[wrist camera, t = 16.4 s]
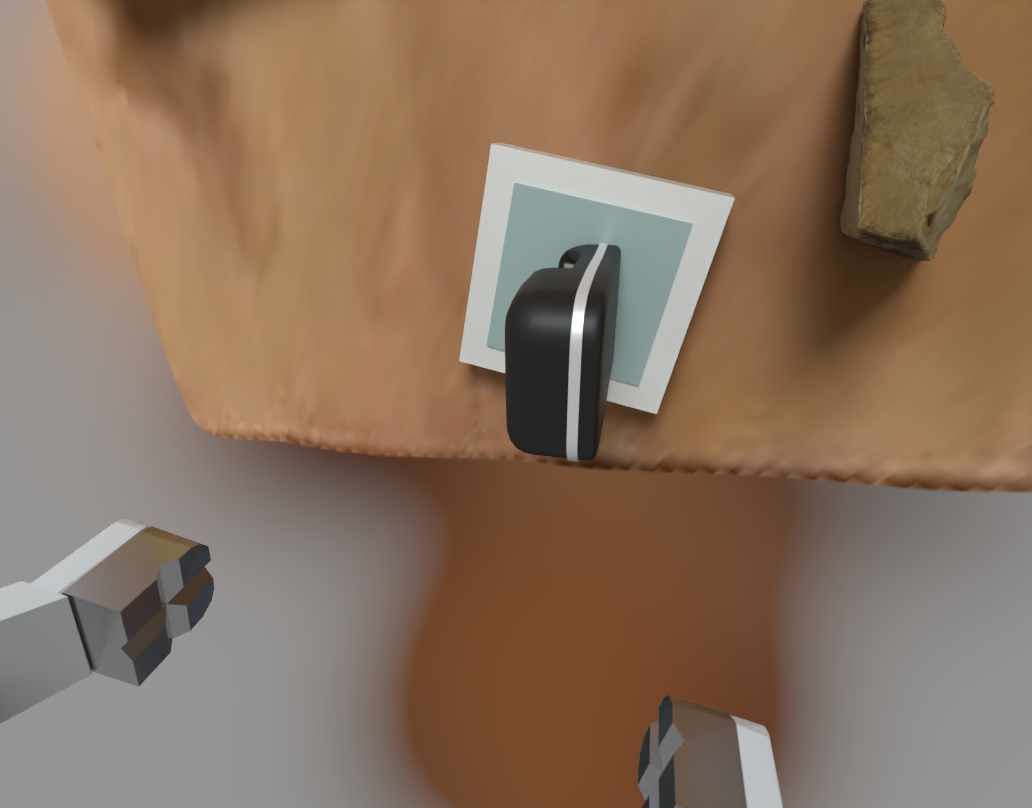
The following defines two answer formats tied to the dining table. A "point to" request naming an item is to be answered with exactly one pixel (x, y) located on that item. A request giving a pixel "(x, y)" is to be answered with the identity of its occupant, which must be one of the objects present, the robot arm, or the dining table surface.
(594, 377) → the battery charger
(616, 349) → the plate
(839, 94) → the dining table surface
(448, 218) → the dining table surface
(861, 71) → the rock
